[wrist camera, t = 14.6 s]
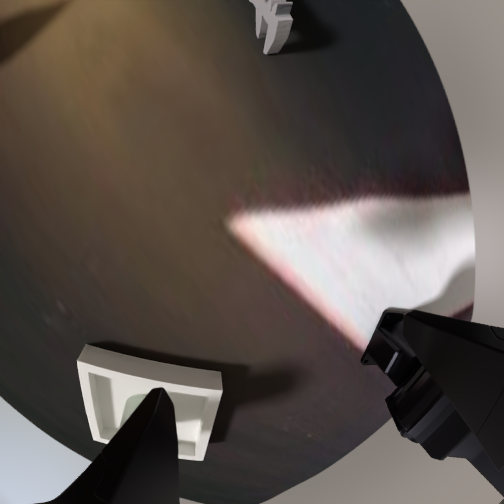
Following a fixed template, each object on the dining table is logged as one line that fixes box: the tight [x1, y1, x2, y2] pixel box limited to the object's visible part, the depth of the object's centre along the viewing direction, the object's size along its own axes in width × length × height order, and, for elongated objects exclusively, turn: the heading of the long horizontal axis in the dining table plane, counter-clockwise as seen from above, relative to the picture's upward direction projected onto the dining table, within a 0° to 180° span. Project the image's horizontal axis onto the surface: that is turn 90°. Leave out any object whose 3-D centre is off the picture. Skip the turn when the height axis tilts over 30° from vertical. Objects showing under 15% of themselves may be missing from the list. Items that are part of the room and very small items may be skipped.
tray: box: [77, 344, 223, 461], centre depth 23 cm, size 13×13×3 cm
